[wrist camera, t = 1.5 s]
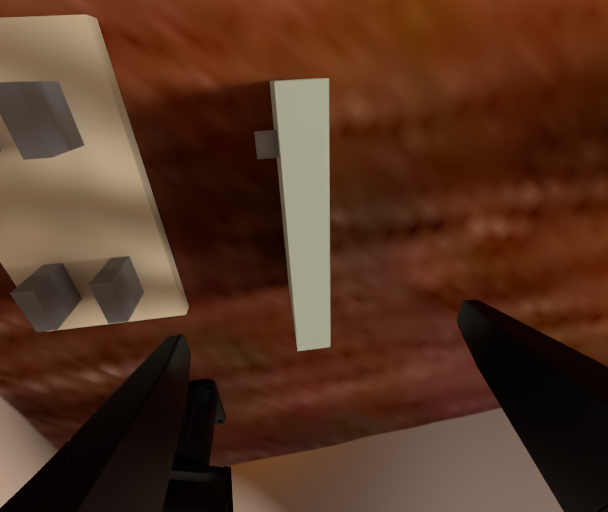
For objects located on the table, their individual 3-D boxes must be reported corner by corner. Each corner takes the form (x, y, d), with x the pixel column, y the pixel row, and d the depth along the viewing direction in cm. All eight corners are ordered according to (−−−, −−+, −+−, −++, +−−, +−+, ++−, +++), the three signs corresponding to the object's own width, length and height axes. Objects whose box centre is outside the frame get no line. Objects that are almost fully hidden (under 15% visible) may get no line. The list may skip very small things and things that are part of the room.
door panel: (313, 280, 24) (330, 347, 18) (275, 284, 24) (280, 353, 18) (304, 78, 17) (328, 78, 11) (251, 81, 17) (246, 82, 11)
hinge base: (188, 306, 24) (176, 344, 20) (54, 321, 23) (18, 364, 19) (96, 18, 14) (46, -1, 11) (-134, 27, 14) (-266, 9, 10)
